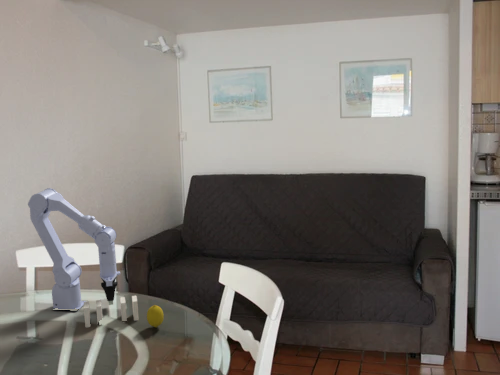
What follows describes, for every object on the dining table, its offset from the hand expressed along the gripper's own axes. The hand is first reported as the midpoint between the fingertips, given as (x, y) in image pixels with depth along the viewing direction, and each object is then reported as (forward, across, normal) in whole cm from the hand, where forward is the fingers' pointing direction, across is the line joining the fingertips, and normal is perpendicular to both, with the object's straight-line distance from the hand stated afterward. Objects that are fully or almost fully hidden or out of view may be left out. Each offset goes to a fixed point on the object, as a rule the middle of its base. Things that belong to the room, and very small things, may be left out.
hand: (110, 297), depth 192 cm
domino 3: (+2, 0, 0) cm, 2 cm away
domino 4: (+4, -10, -4) cm, 12 cm away
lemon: (+4, -20, -14) cm, 25 cm away
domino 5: (+4, -10, -8) cm, 14 cm away
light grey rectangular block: (+4, -10, +8) cm, 13 cm away
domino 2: (+4, -10, +4) cm, 12 cm away
